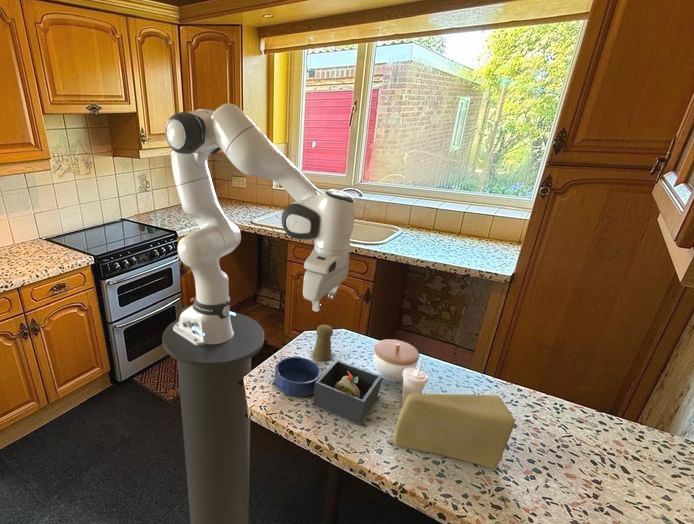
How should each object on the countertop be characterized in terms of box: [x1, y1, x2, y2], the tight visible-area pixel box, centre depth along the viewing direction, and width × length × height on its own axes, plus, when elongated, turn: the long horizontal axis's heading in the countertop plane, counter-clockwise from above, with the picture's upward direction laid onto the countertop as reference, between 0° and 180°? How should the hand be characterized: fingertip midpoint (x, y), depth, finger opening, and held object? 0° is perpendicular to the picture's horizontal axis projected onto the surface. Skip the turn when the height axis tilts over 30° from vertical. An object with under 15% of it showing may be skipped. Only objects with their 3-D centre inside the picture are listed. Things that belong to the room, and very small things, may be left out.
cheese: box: [392, 393, 516, 470], centre depth 93 cm, size 22×10×15 cm, turn 80°
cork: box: [312, 324, 334, 362], centre depth 130 cm, size 6×6×11 cm
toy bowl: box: [274, 356, 322, 398], centre depth 118 cm, size 13×13×5 cm
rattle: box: [335, 371, 360, 399], centre depth 109 cm, size 8×8×12 cm
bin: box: [312, 359, 383, 426], centre depth 110 cm, size 14×14×8 cm
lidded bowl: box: [373, 338, 420, 383], centre depth 120 cm, size 13×13×11 cm
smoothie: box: [401, 360, 429, 405], centre depth 108 cm, size 6×6×14 cm
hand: (324, 304), depth 108 cm, fingers open, 8 cm apart
